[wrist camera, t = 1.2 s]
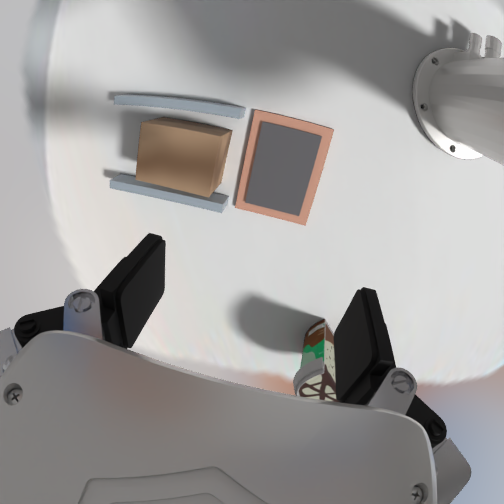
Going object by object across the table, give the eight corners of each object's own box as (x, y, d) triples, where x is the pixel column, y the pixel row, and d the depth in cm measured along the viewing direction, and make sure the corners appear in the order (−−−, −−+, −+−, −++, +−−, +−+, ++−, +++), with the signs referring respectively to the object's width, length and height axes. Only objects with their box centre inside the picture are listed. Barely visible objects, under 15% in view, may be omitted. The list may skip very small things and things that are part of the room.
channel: (126, 94, 27) (114, 95, 24) (245, 107, 26) (241, 108, 24) (120, 181, 32) (109, 188, 30) (227, 204, 32) (221, 213, 30)
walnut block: (163, 117, 28) (141, 122, 24) (232, 130, 28) (220, 136, 24) (156, 166, 31) (135, 179, 27) (221, 182, 31) (208, 197, 27)
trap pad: (255, 109, 26) (254, 110, 26) (333, 129, 26) (334, 130, 25) (235, 206, 32) (234, 208, 31) (305, 224, 32) (305, 226, 31)
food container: (281, 325, 40) (274, 383, 32) (320, 311, 38) (322, 370, 30) (316, 370, 45) (314, 421, 36) (349, 360, 42) (353, 412, 34)
